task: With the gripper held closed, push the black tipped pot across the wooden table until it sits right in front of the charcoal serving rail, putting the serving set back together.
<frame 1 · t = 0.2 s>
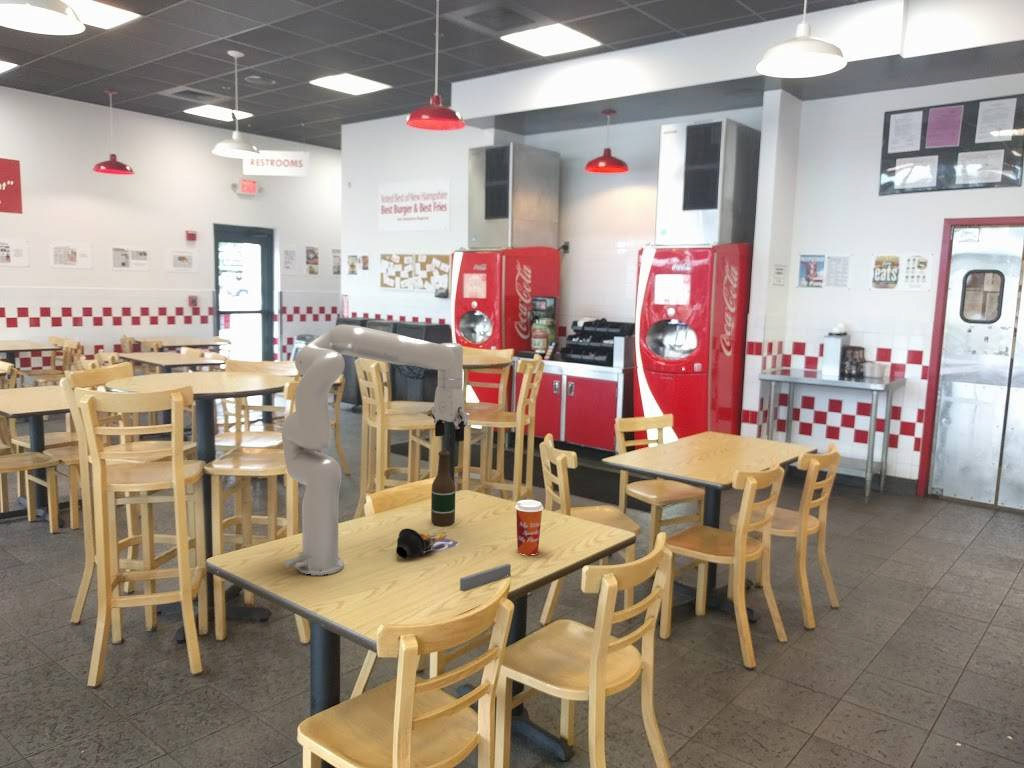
hand: (449, 438, 235), 31 cm above the table, tool pointing down, fingers open, 9 cm apart
beer bottle: (442, 523, 250), on the table
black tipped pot: (422, 553, 222), on the table
serving rail: (485, 582, 202), on the table
coffee cup: (528, 552, 225), on the table
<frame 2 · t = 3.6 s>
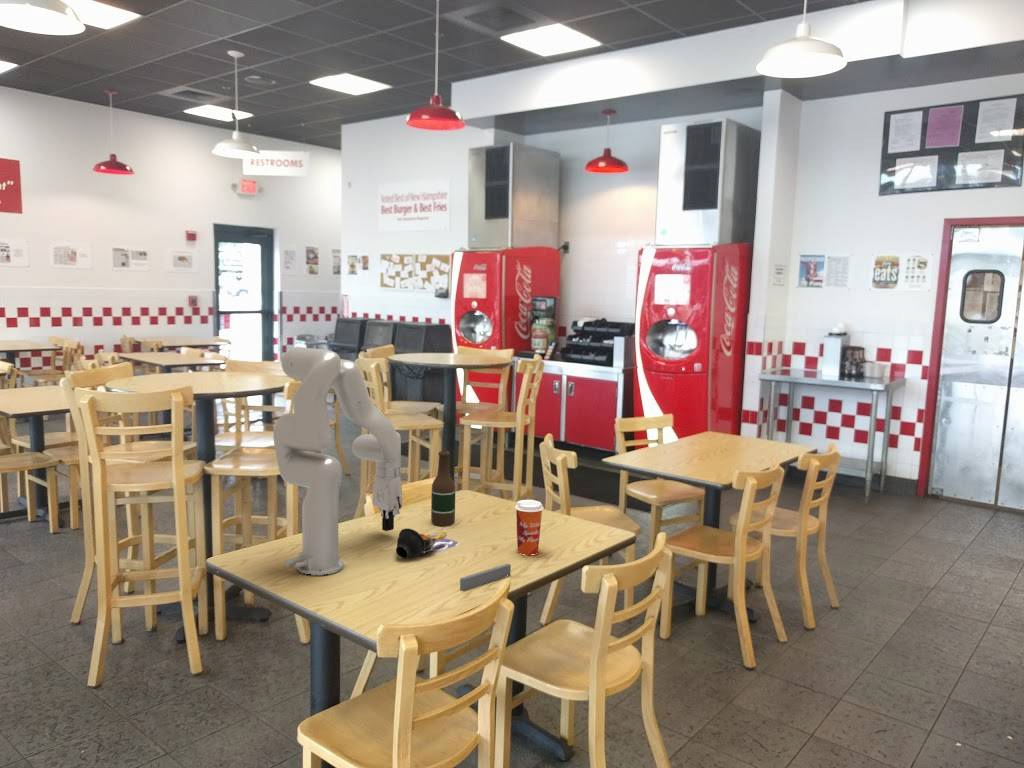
hand: (387, 529, 235), 2 cm above the table, tool pointing down, fingers closed
nothing on the table moved.
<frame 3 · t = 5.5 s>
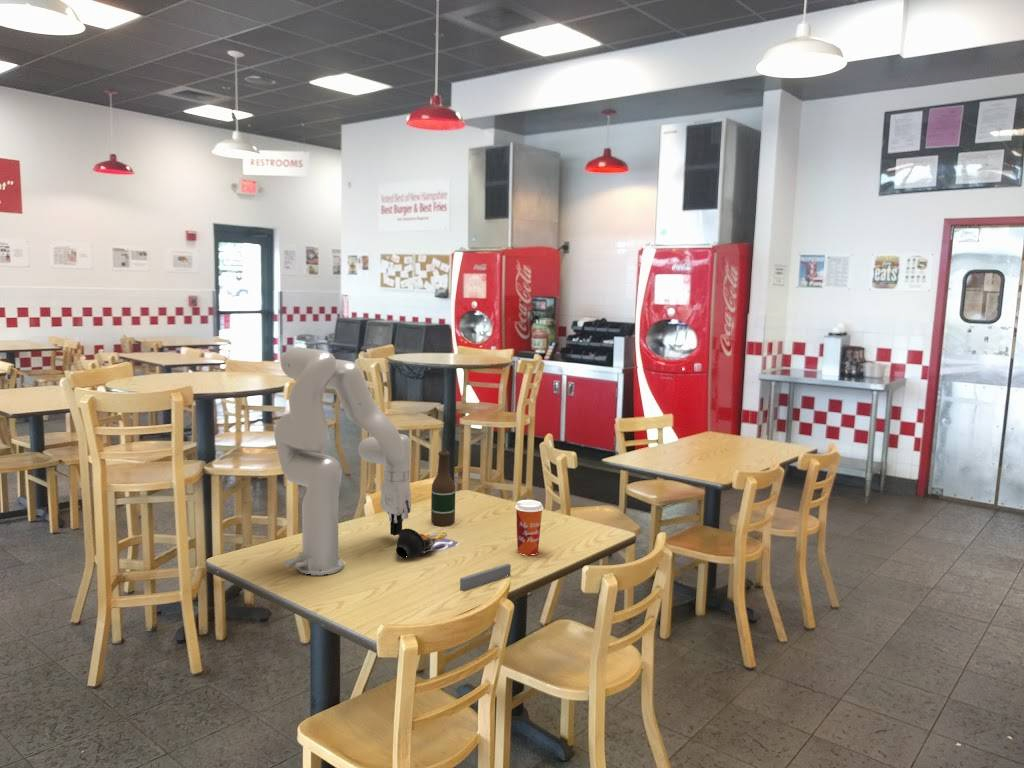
hand: (396, 534, 232), 2 cm above the table, tool pointing down, fingers closed
nothing on the table moved.
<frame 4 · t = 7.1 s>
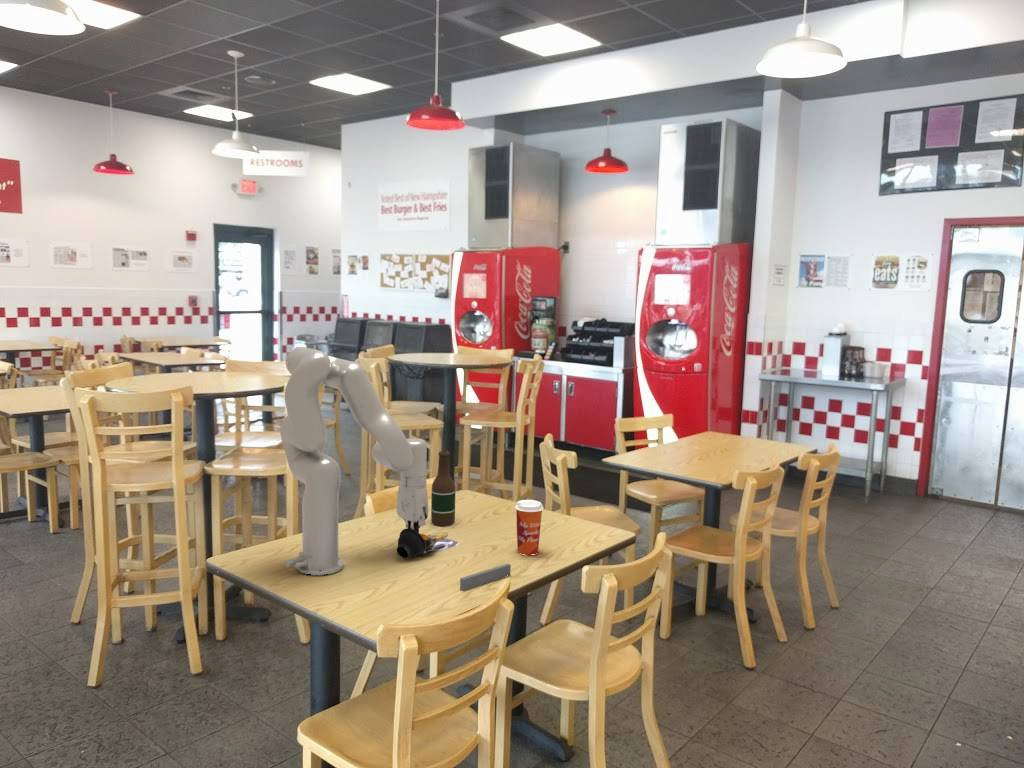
hand: (412, 541, 226), 2 cm above the table, tool pointing down, fingers closed
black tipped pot: (423, 553, 222), on the table, touching gripper
everything else where it was.
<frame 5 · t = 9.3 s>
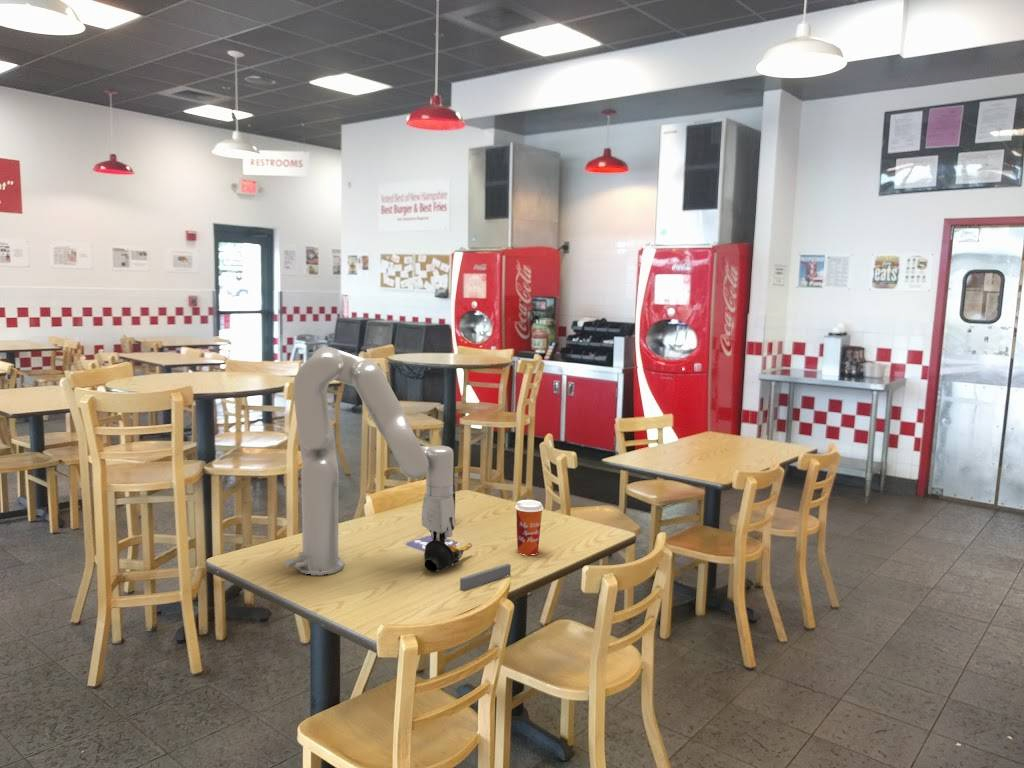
hand: (438, 552, 216), 2 cm above the table, tool pointing down, fingers closed
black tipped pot: (449, 566, 213), on the table, touching gripper
everything else where it was.
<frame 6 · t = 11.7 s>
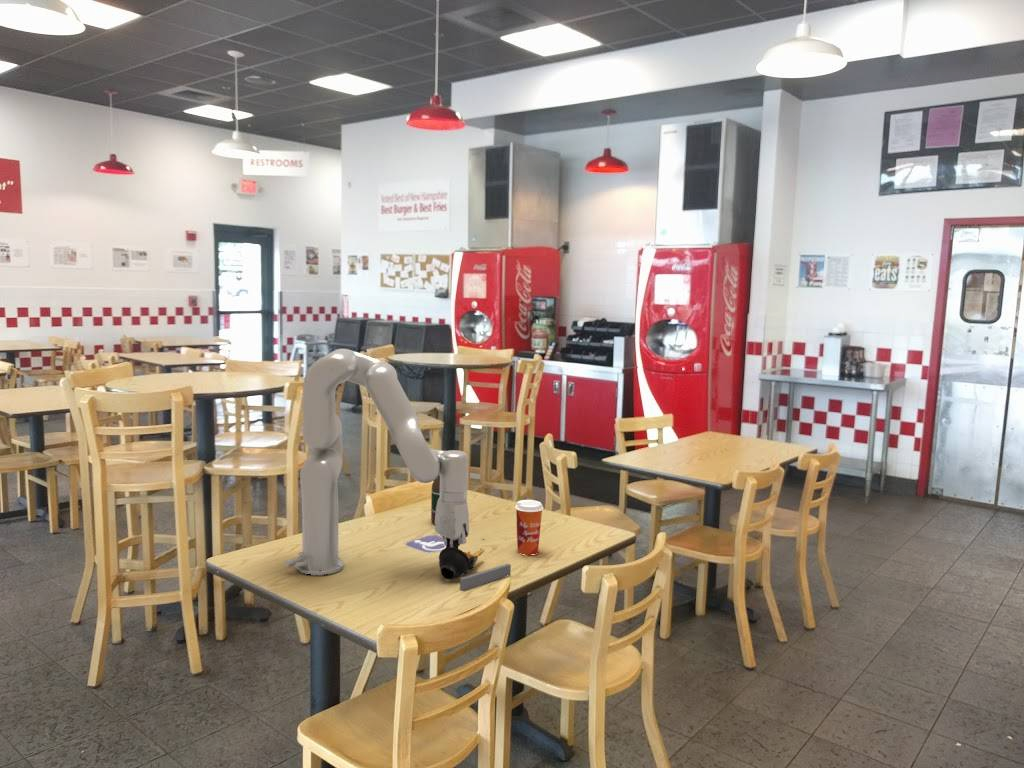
hand: (451, 559, 212), 2 cm above the table, tool pointing down, fingers closed
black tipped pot: (463, 573, 208), on the table, touching gripper
everything else where it was.
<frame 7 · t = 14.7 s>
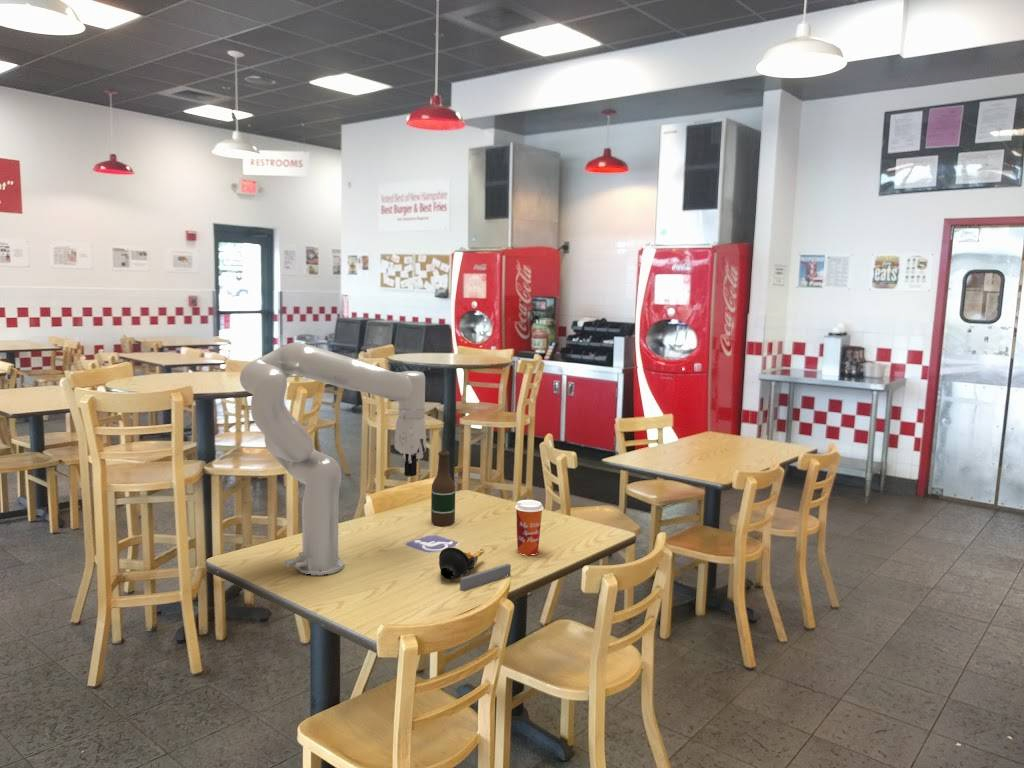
hand: (410, 475, 223), 22 cm above the table, tool pointing down, fingers closed
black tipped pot: (463, 573, 208), on the table
everything else where it was.
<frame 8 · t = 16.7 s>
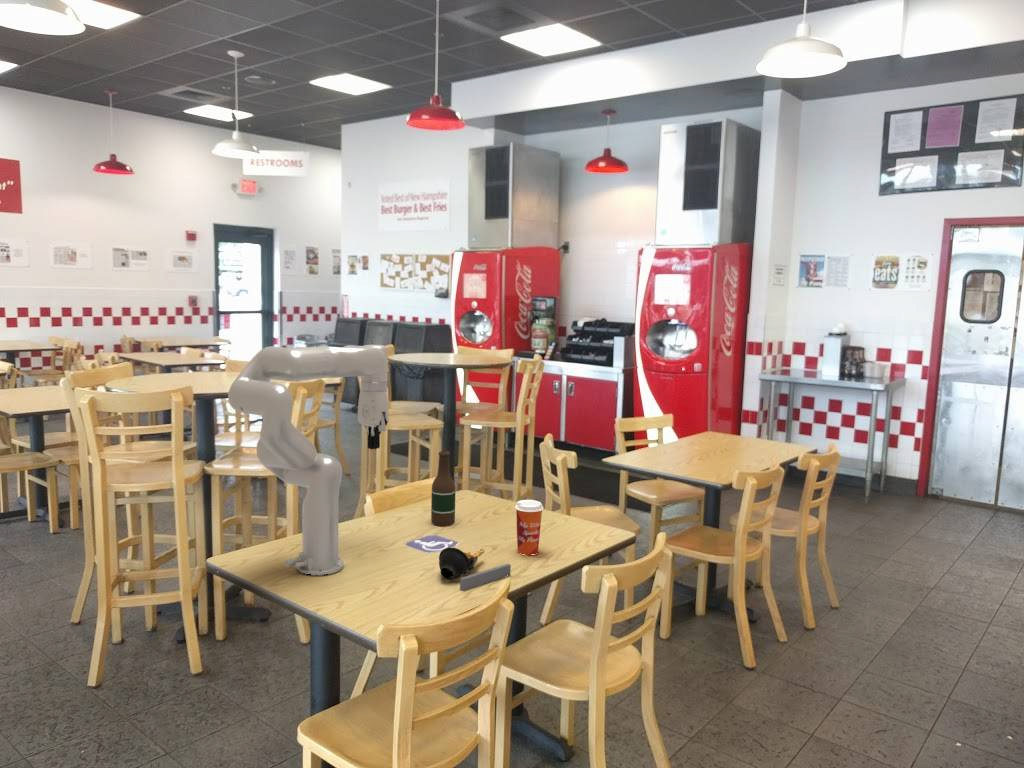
hand: (373, 448, 225), 29 cm above the table, tool pointing down, fingers closed
nothing on the table moved.
at the end: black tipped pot inside the target area on the table beside the serving rail (0.4 cm from its centre), on the table; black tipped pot moved 19.1 cm from its start; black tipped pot tilted 0° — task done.
